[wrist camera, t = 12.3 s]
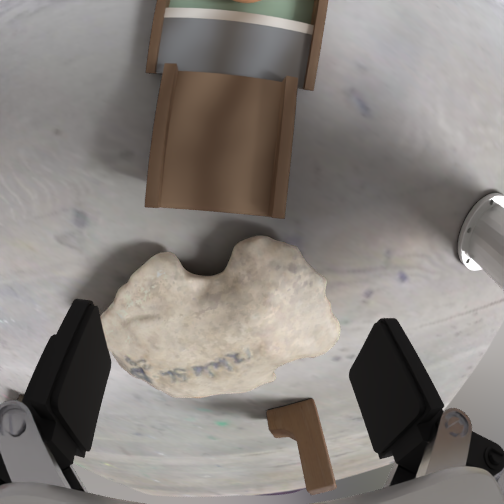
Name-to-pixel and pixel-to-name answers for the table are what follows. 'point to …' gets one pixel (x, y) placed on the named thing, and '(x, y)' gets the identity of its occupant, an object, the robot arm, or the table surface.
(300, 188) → the table surface
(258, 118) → the lane
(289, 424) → the wooden block
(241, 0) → the ball
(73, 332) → the robot arm
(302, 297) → the rock
